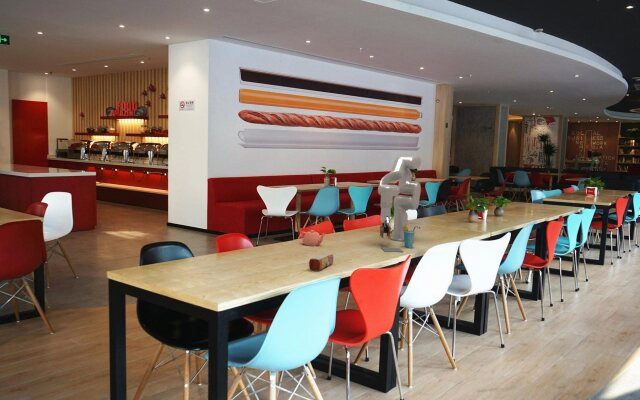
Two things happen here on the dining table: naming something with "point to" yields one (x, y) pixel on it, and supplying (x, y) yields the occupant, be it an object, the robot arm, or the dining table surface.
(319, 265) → the snack package
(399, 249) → the mat
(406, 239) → the cup
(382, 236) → the brown box with pegs
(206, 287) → the dining table surface
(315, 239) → the teapot
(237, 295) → the dining table surface
